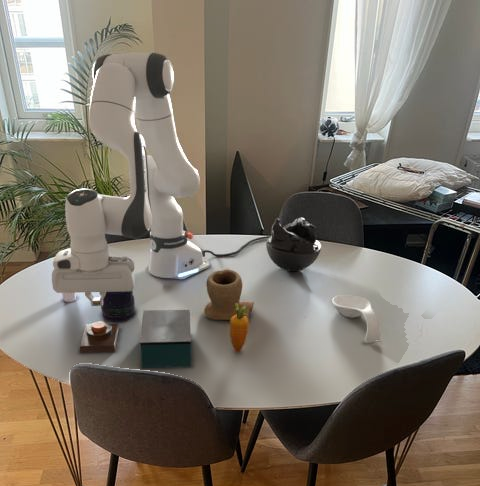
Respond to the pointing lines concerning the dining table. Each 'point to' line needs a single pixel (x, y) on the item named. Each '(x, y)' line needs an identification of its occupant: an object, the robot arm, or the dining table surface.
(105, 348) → the button block
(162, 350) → the tea tin
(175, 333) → the lid
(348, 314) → the spoon rest
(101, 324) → the button
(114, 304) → the oil barrel
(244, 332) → the carrot
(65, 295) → the smoothie
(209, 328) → the dining table surface
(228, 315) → the stone cup
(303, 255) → the coal bowl
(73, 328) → the dining table surface
